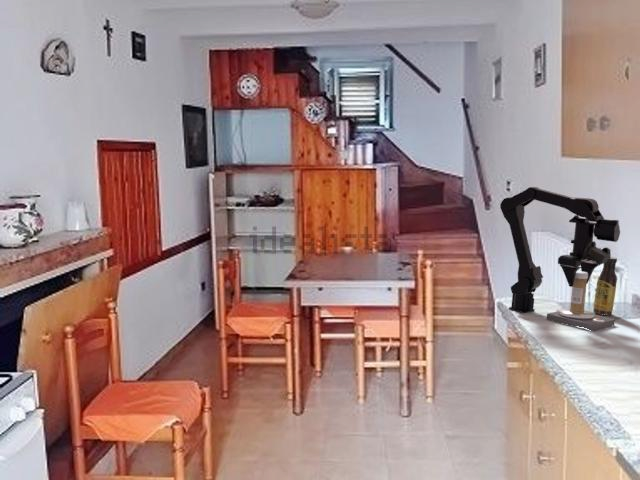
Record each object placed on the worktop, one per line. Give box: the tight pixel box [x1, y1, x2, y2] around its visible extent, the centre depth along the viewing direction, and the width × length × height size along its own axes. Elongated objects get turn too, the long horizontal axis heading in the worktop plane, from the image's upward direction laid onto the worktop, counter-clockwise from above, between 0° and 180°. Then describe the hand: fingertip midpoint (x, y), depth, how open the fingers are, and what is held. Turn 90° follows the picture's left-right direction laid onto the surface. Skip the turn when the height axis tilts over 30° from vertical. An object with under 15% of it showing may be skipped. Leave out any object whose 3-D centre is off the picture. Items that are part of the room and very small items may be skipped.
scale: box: [545, 311, 616, 332], centre depth 228 cm, size 16×14×2 cm
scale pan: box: [556, 307, 595, 320], centre depth 229 cm, size 12×12×1 cm
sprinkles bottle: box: [569, 270, 588, 314], centre depth 228 cm, size 5×5×13 cm
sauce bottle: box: [592, 256, 618, 316], centre depth 240 cm, size 6×6×20 cm
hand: (578, 285), depth 228 cm, fingers open, 9 cm apart
